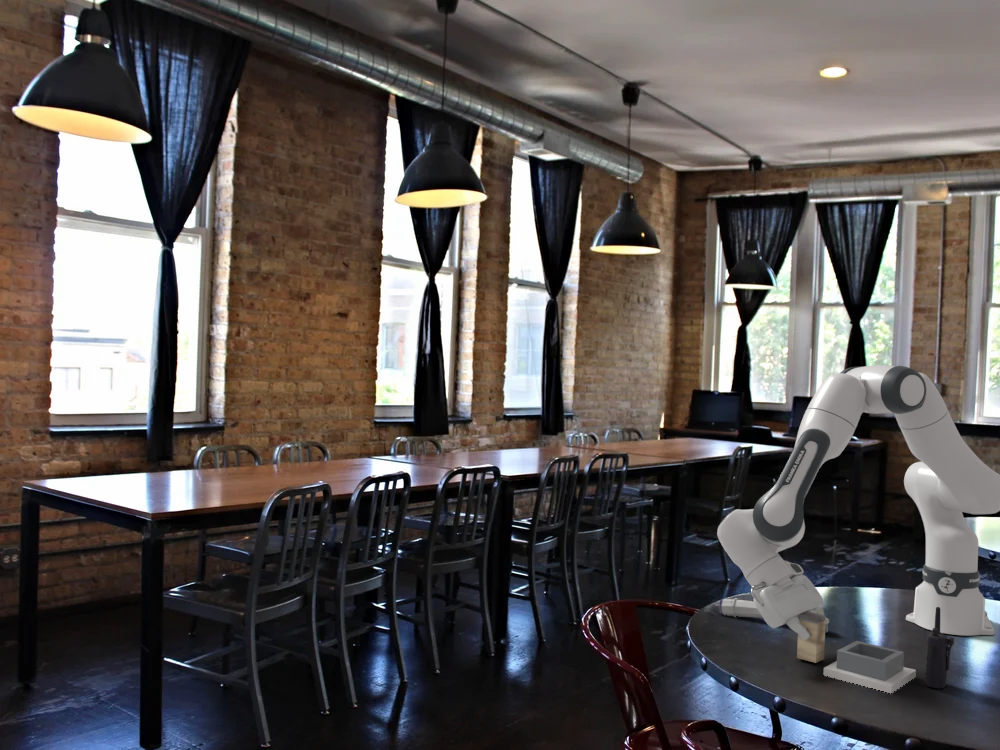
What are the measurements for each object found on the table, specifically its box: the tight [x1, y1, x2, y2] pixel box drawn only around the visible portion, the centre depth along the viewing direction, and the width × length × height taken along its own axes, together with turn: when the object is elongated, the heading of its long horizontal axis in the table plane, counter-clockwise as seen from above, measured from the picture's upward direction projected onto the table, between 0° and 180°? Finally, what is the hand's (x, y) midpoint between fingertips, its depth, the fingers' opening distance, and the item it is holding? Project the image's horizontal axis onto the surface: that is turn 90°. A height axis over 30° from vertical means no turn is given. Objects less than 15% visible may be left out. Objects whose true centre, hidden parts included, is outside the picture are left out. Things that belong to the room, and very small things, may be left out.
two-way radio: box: [925, 607, 955, 690], centre depth 170 cm, size 6×4×15 cm
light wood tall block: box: [796, 611, 827, 664], centre depth 183 cm, size 4×4×9 cm
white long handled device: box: [718, 597, 830, 634], centre depth 209 cm, size 5×7×25 cm
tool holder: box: [823, 640, 917, 695], centre depth 174 cm, size 13×13×5 cm
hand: (814, 635), depth 182 cm, fingers closed on light wood tall block, 4 cm apart
